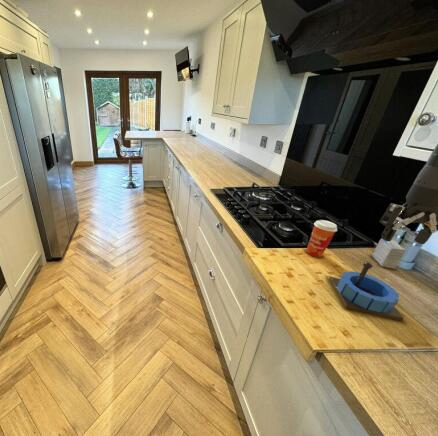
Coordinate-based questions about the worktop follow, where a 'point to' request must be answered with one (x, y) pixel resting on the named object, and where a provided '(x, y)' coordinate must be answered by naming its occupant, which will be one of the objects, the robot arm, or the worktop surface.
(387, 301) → the blue notched ring
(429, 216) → the robot arm
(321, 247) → the paper cup
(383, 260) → the medicine box
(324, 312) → the worktop surface
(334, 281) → the brown peg stand
